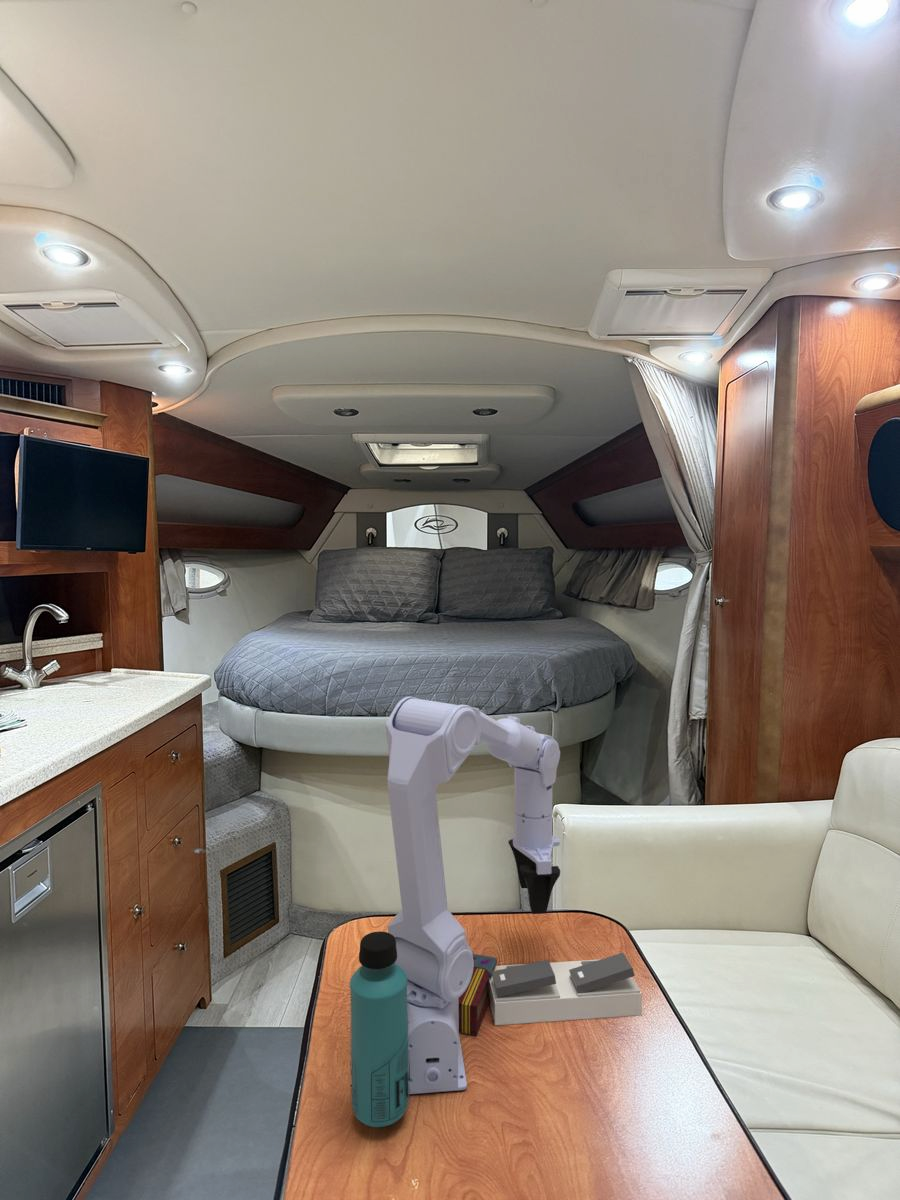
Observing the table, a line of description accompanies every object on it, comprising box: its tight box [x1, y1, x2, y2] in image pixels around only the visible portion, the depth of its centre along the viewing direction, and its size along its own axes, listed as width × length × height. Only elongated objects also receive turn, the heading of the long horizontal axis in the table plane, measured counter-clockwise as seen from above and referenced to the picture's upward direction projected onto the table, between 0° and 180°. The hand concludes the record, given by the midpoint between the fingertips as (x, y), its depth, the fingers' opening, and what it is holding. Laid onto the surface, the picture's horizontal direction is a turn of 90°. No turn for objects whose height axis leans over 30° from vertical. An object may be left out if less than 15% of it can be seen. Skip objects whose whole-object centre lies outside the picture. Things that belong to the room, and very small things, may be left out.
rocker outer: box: [569, 952, 635, 993], centre depth 89 cm, size 4×8×1 cm, turn 96°
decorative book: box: [459, 953, 498, 1037], centre depth 91 cm, size 11×16×5 cm
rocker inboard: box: [492, 958, 556, 997], centre depth 88 cm, size 4×8×1 cm, turn 96°
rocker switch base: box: [488, 959, 643, 1026], centre depth 91 cm, size 8×20×3 cm, turn 96°
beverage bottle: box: [349, 931, 411, 1128], centre depth 71 cm, size 6×7×20 cm
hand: (532, 899), depth 99 cm, fingers open, 7 cm apart
